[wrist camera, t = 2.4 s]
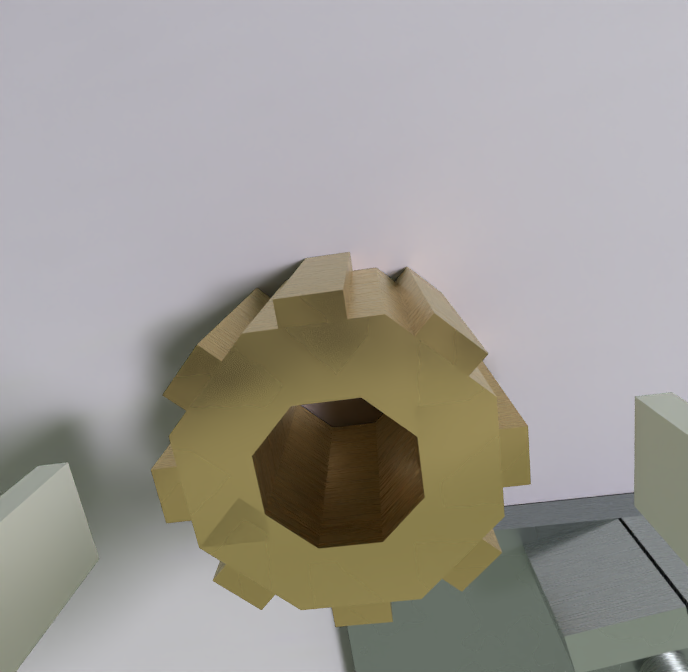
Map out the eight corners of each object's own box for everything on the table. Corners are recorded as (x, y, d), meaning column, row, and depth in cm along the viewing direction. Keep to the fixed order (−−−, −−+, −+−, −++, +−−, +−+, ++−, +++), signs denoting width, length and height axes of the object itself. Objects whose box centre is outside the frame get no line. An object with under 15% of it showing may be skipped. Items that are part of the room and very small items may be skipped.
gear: (200, 273, 16) (107, 322, 10) (459, 235, 15) (520, 264, 9) (251, 495, 18) (200, 639, 12) (478, 470, 17) (536, 608, 12)
